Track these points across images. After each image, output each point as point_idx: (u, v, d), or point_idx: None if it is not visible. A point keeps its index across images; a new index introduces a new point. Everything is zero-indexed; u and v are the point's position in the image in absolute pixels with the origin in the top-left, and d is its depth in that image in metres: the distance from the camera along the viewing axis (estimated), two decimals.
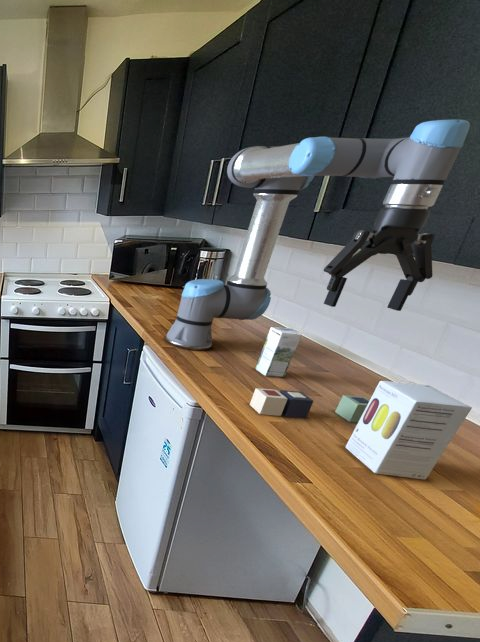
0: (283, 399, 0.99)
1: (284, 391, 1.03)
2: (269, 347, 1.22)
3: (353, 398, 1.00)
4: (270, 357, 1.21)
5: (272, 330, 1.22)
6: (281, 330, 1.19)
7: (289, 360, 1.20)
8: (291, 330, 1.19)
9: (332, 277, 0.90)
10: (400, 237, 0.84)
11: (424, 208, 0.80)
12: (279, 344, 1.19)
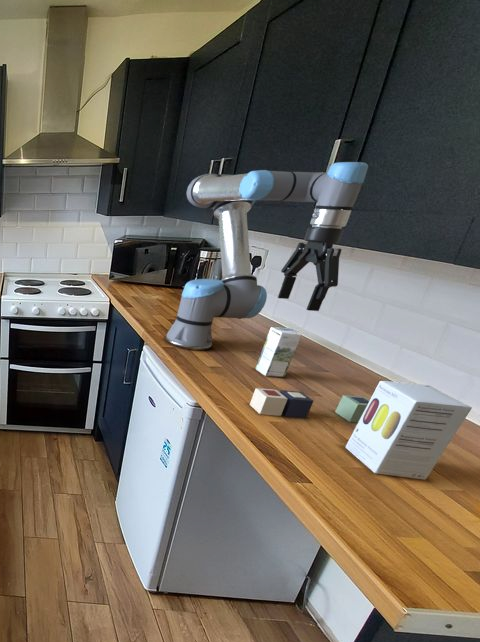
0: (283, 399, 0.99)
1: (284, 391, 1.03)
2: (269, 347, 1.22)
3: (353, 398, 1.00)
4: (270, 357, 1.21)
5: (272, 330, 1.22)
6: (281, 330, 1.19)
7: (289, 360, 1.20)
8: (291, 330, 1.19)
9: None
10: (314, 249, 1.09)
11: (317, 226, 1.06)
12: (279, 344, 1.19)
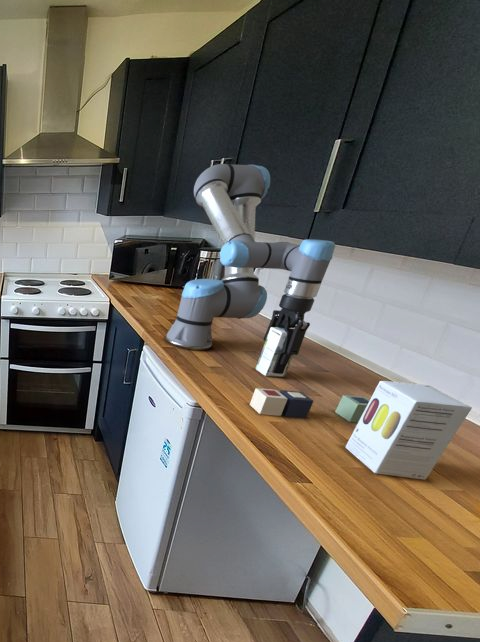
0: (283, 399, 0.99)
1: (284, 391, 1.03)
2: (269, 347, 1.22)
3: (353, 398, 1.00)
4: (270, 357, 1.21)
5: (272, 330, 1.22)
6: (281, 330, 1.19)
7: (289, 360, 1.20)
8: None
9: None
10: (290, 312, 1.17)
11: (290, 296, 1.15)
12: (279, 344, 1.19)
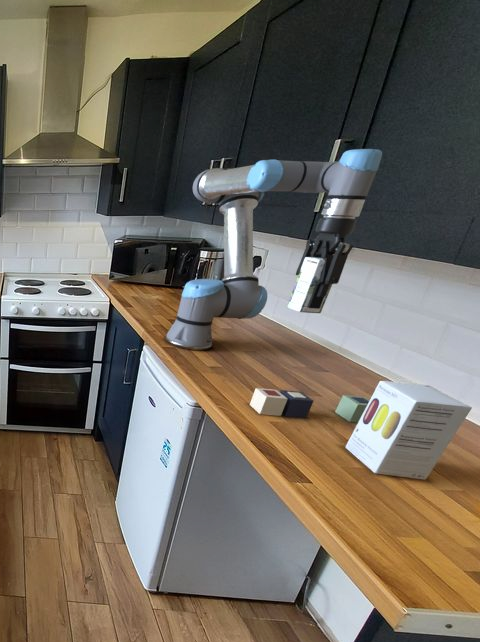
0: (283, 399, 0.99)
1: (284, 391, 1.03)
2: (304, 279, 1.10)
3: (353, 398, 1.00)
4: (305, 290, 1.09)
5: (307, 260, 1.09)
6: (318, 258, 1.07)
7: (327, 293, 1.08)
8: None
9: None
10: (328, 237, 1.04)
11: (329, 217, 1.02)
12: (315, 274, 1.06)
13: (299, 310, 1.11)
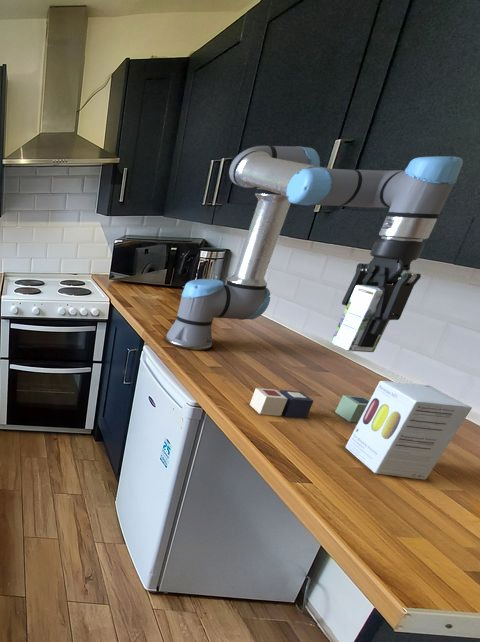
0: (283, 399, 0.99)
1: (284, 391, 1.03)
2: (354, 312, 0.91)
3: (353, 398, 1.00)
4: (356, 325, 0.90)
5: (358, 289, 0.91)
6: (373, 287, 0.88)
7: None
8: None
9: None
10: (387, 262, 0.86)
11: (390, 239, 0.84)
12: (370, 306, 0.88)
13: (347, 348, 0.92)
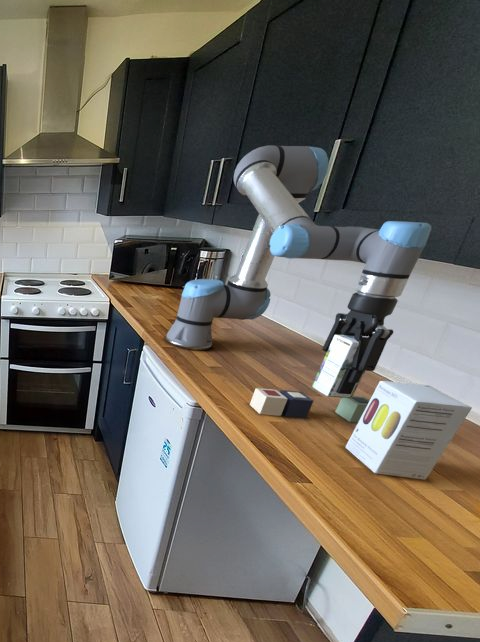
0: (283, 399, 0.99)
1: (284, 391, 1.03)
2: (333, 360, 0.96)
3: (353, 398, 1.00)
4: (335, 373, 0.95)
5: (337, 338, 0.95)
6: (350, 339, 0.93)
7: None
8: None
9: None
10: (363, 316, 0.91)
11: (365, 295, 0.89)
12: (347, 357, 0.93)
13: (327, 394, 0.97)
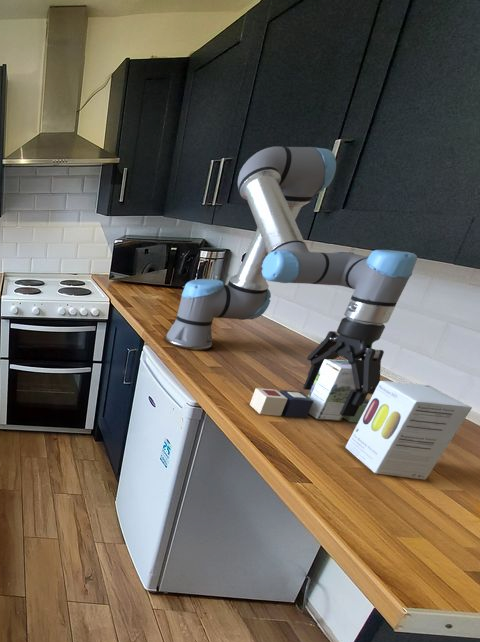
0: (283, 399, 0.99)
1: (284, 391, 1.03)
2: (323, 384, 0.99)
3: None
4: (324, 397, 0.98)
5: (326, 363, 0.98)
6: (339, 364, 0.95)
7: None
8: None
9: None
10: (350, 344, 0.94)
11: (354, 321, 0.91)
12: (336, 382, 0.95)
13: (317, 417, 1.00)
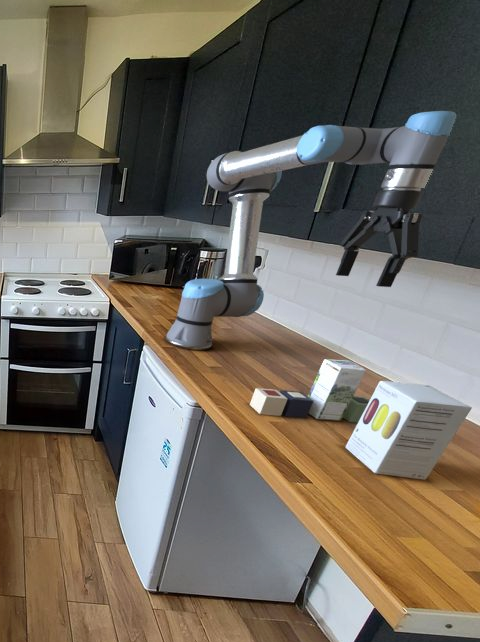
0: (283, 399, 0.99)
1: (284, 391, 1.03)
2: (323, 384, 0.99)
3: (353, 398, 1.00)
4: (324, 397, 0.98)
5: (326, 363, 0.98)
6: (339, 364, 0.95)
7: (348, 401, 0.97)
8: (351, 364, 0.96)
9: None
10: (386, 216, 0.95)
11: (391, 189, 0.93)
12: (336, 382, 0.95)
13: (317, 417, 1.00)
